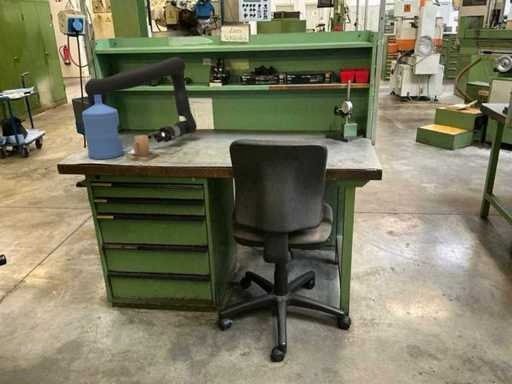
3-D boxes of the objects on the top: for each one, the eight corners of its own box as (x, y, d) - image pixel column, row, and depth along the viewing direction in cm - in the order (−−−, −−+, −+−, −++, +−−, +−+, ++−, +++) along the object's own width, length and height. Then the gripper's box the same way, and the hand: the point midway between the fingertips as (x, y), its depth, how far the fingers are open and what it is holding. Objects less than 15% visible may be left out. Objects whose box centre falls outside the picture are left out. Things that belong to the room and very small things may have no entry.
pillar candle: (131, 159, 188) (128, 138, 185) (142, 155, 195) (139, 134, 192) (141, 161, 186) (139, 139, 182) (152, 156, 193) (150, 135, 190)
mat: (153, 152, 200) (153, 151, 199) (165, 147, 208) (165, 146, 208) (171, 154, 196) (170, 152, 196) (182, 149, 204) (182, 147, 204)
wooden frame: (127, 159, 189) (126, 156, 188) (141, 153, 198) (141, 150, 197) (145, 161, 185) (145, 158, 185) (159, 155, 194) (159, 152, 193)
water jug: (104, 161, 186) (95, 98, 177) (81, 157, 194) (71, 96, 184) (130, 153, 199) (123, 93, 189) (107, 150, 206) (99, 92, 197)
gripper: (156, 124, 209) (136, 131, 195) (180, 126, 204) (161, 133, 190) (158, 139, 212) (138, 146, 198) (182, 141, 207) (163, 148, 193)
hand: (149, 139), depth 194 cm, fingers open, 8 cm apart
